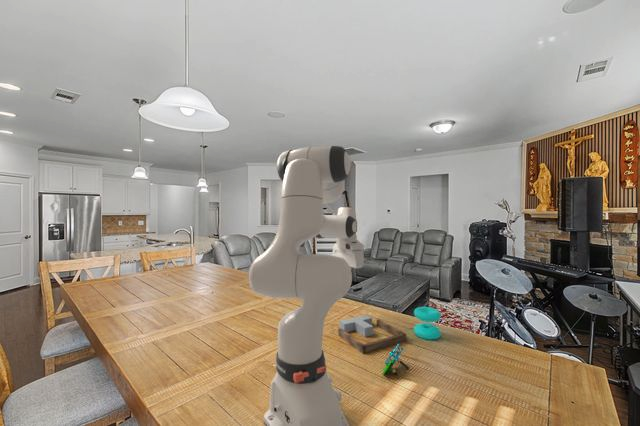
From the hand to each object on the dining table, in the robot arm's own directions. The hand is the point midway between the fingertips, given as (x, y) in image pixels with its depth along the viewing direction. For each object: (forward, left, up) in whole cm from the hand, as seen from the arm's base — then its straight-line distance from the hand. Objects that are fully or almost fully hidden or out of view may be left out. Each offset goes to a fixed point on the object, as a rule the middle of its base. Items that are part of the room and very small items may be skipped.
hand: (346, 274), depth 124 cm
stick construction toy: (-38, +7, -21) cm, 44 cm away
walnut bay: (-17, 0, -21) cm, 27 cm away
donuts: (-26, -21, -21) cm, 40 cm away
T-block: (-11, 0, -21) cm, 23 cm away
